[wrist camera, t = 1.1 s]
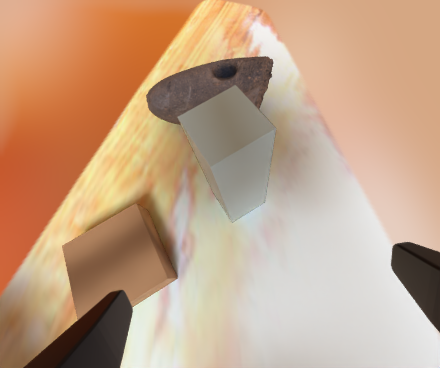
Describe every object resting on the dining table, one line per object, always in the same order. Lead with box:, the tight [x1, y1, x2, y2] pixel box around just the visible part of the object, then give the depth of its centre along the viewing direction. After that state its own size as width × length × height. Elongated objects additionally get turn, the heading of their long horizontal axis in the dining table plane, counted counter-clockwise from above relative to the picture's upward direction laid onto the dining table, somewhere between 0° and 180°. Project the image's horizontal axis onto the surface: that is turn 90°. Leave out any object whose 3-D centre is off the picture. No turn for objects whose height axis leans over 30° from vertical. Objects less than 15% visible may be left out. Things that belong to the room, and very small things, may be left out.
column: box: [178, 85, 276, 223], centre depth 17 cm, size 4×4×12 cm
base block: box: [62, 203, 178, 320], centre depth 20 cm, size 8×8×3 cm
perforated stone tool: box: [146, 56, 273, 124], centre depth 24 cm, size 15×5×7 cm, turn 88°
